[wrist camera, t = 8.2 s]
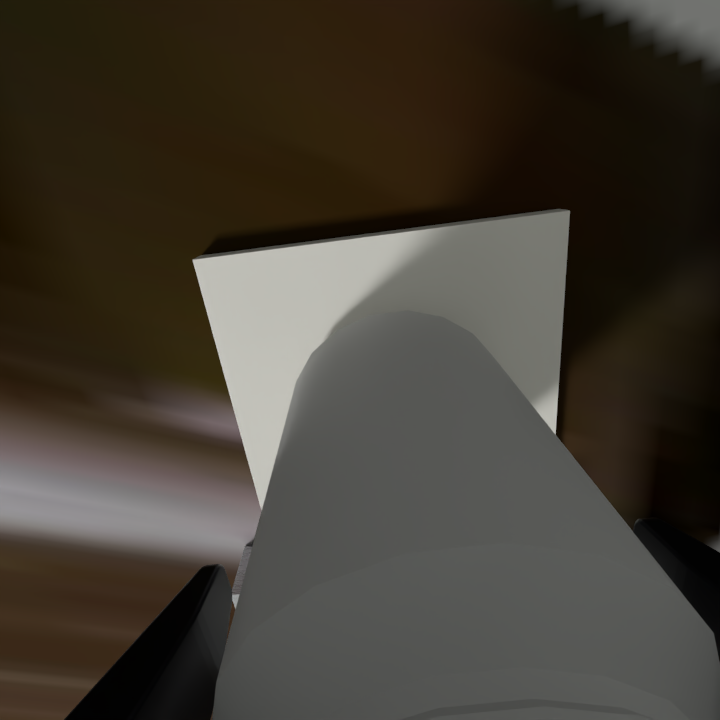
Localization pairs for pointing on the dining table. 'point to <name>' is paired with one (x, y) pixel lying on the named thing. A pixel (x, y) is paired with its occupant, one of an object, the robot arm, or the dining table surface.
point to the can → (447, 557)
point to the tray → (385, 307)
